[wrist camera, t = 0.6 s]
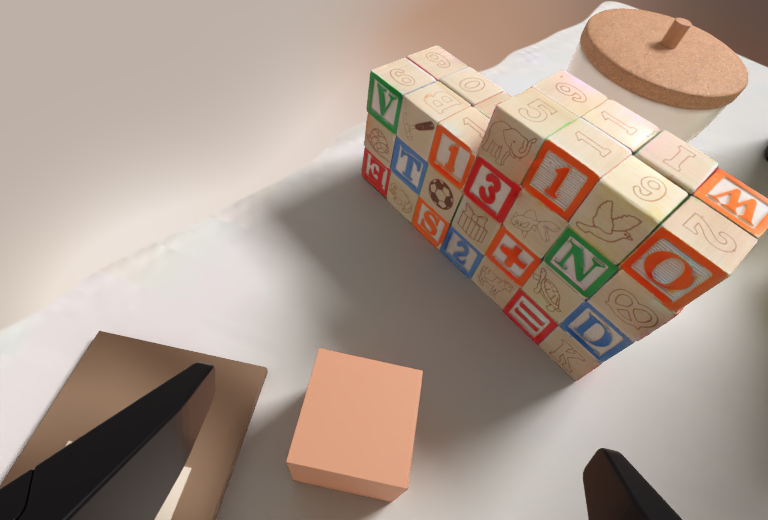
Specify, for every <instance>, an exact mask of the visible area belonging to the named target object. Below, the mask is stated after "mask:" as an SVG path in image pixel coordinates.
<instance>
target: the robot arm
mask: <svg viewBox="0 0 768 520" xmlns="http://www.w3.org/2000/svg"><path fill="white" fill-rule="evenodd" d="M215 391H216V369H215V366H214V365H212V364H207V363H202V362H196V363H194V364H192V365H190V366H189V367H187V368H186V369H184V370H183V371H181V372H180V373H178V374H177V375H175V376H173V377H172V378H170V379H169V380H167V381H166V382H164V383H163V384H161V385H160V386H158V387H156V388H155V389H153V390H152V391H150V392H149V393H147V394H146V395H144V396H143V397H141V398H139V399H138V400H136V401H135V402H133V403H132V404H130V405H129V406H127V407H126V408H124V409H122V410H121V411H119V412H118V413H116V414H115V415H113V416H112V417H110V418H109V419H107V420H106V421H104V422H102V423H101V424H99V425H98V426H96V427H95V428H93V429H92V430H90V431H89V432H87V433H85V434H84V435H82V436H81V437H79V438H78V439H76V440H75V441H73V442H72V443H70V444H68V445H67V446H65V447H64V448H62V449H61V450H59V451H58V452H56V453H55V454H53V455H51V456H50V457H48V458H47V459H45V460H44V461H42V462H41V463H39V464H38V465H36V466H35V468H34V470H33V469H30V470H28V471H27V472H25V473H23V474H22V475H20V476H19V477H17V478H16V479H14V480H13V481H11V482H10V483H8V484H6V485H5V486H3V487H2V488H0V520H155V518H156V516H157V514H158V513H159V511H160V509H161V507H162V505H163V504H164V502H165V500H166V498H167V497H168V495H169V493H170V491H171V489H172V488H173V486H174V484H175V482H176V481H177V479H178V477H179V475H180V473H181V471H182V470H183V468H184V466H185V464H186V462H187V459H188V457H189V455H190V453H191V451H192V448H193V446H194V444H195V441H196V439H197V437H198V434H199V432H200V430H201V427H202V425H203V423H204V420H205V418H206V416H207V413H208V411H209V409H210V406H211V404H212V402H213V399H214V396H215ZM583 483H584V490H585V497H586V504H587V511H588V518H589V520H682V519H681V518H680V517H679V515H678V514H677V513H676V512H675V511H674V510H673V509H672V508H671V507H670V506H669V505H668V504H667V503H666V501H665V500H664V499H663V498H662V497H661V496H660V495H659V494H658V493H657V492H656V491H655V490H654V488H653V487H652V486H651V485H650V484H649V483H648V482H647V481H646V480H645V479H644V478H643V477H642V476H641V474H640V473H639V472H638V471H637V470H636V469H635V468H634V467H633V466H632V465H631V464H630V463H629V462H628V460H627V459H626V458H625V457H624V456H623V455H622V454H621V453H619V452H617V451H614V450H610V449H605V448H601V449H599V450H597V452H596V453H595V454H594V456H593V457H592V459H591V460H590V461H589V463H588V464H587V466H586V467H585V469H584V472H583Z"/></svg>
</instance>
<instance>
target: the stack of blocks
mask: <svg viewBox="0 0 768 520" xmlns="http://www.w3.org/2000/svg"><path fill="white" fill-rule="evenodd" d="M367 112H368V117H367V123H366V133H365V141H364V146H365V149H364V157H363V165H362V176H363V177H364V178H365V179H366V180H367V181H368V182H369V183H370V184H372V185H373V186H374V187H375V188H376V189H377V190H378V191H379V192H380V193H381V194H382V195H383V196H384V197H386V198H387V201H388V202H389V203H390V204H391V205H392V206H393V207H394V208H395V209H396V210H397V211H398V212H399V213H401V214H402V215H403V216H404V217H405V218H406V219H407V220H408V221H409V222H411V223H412V224H413V226H414V227H415V228H416V229H417V230H418V231H419V232H420V233H421V234H422V235H423V236H424V237H425V238H426V239H427V240H428V241H429V242H431V243H432V244H433V245H434V246H435V247H436V248H437V249H438V250H441V252H442V253H443V254H444V255H445V256H446V257H447V258H448V259H450V260H451V261H452V262H453V263H454V264H455V265H456V266H457V267H458V268H459V269H460V270H461V271H462V272H463V273H464V274H465V275H466V276H467V277H468V278H470V279H471V280H472V281H473V282H474V283H475V284H476V285H477V286H478V287H479V288H480V289H481V290H482V291H483V292H485V293H486V295H488V296H489V297H490V298H491V299H492V300H493V301H494V302H495V303H496V304H497V305H498V306H499V307H500V308H501V309H502V310H503V312H504V313H505V314H506V315H507V316H508V317H509V318H510V319H511V320H512V321H513V322H515V323H516V324H517V325H518V326H519V327H520V328H521V329H522V330H523V331H524V332H525V333H526V334H527V335H528V336H529V337H530V338H531V339H532V340H533V341H534V342H535V343H536V344H538V345H539V347H540V348H541V349H542V350H543V351H544V352H545V353H546V354H547V355H548V356H549V357H550V358H551V359H553V360H554V361H555V362H556V363H557V364H558V365H559V366H560V367H561V368H562V369H563V370H564V371H565V372H566V373H567V374H568V375H569V376H570V377H571V378H572V379H574V380H575V381H577V380H579V379H580V378H582V377H583V376H584V375H586V374H587V373H589V372H590V371H592V370H593V369H595V368H596V367H598V366H599V365H600V364H602V363H603V362H604V361H606V360H608V359H609V358H611V357H612V356H614V355H616V354H617V353H619V352H620V351H622V350H623V349H625V348H626V347H628V346H630V345H631V344H633V343H634V342H635V341H639V340H641V339H642V338H644V337H645V336H647V335H649V334H650V333H652V332H653V331H654V330H656V329H658V328H659V327H661V326H662V325H664V324H666V323H667V322H668V321H670V320H671V319H673V318H674V317H676V316H677V315H678V314H679V313H680V312H681V310H682V309H683V308H684V306H686V305H687V304H689V303H690V302H691V301H693V300H694V299H696V298H697V297H699V296H700V295H702V294H703V293H705V292H706V291H708V290H709V289H711V288H713V287H714V286H716V285H717V284H719V283H720V282H722V281H723V280H725V279H726V278H728V277H729V276H730V275H731V274H732V273H733V271H734V270H735V269H736V267H737V266H738V265H739V264H740V263H741V261H742V260H743V259H744V258H745V256H746V255H747V254H748V253H749V251H750V250H751V249H752V248H753V247H754V245H755V244H756V243H757V241H758V240H757V239H758V238H759V237H760V236H761V235H762V234H763V233H764V232H765V231H766V229H767V228H768V198H766V197H764V196H763V195H761V194H760V193H758V192H756V191H755V190H753V189H752V188H750V187H748V186H747V185H745V184H744V183H743V182H741V181H740V180H738V179H736V178H734V177H733V176H731V175H730V174H728V173H727V172H725V171H724V170H722V169H718V163H717V162H716V161H714V160H713V159H711V158H710V157H708V156H707V155H705V154H703V153H702V152H700V151H699V150H697V149H696V148H694V147H692V146H691V145H689V144H687V143H686V142H684V141H683V140H681V139H679V138H678V137H676V136H675V135H673V134H671V133H670V132H668V131H665V130H664V131H660V130H659V128H658V127H657V126H656V125H654V124H652V123H651V122H649V121H647V120H646V119H644V118H642V117H641V116H639V115H638V114H636V113H634V112H633V111H631V110H629V109H627V108H626V107H624V106H622V105H621V104H619V103H618V102H616V101H614V100H608V98H607V96H605V95H604V94H602V93H600V92H599V91H597V90H596V89H594V88H592V87H591V86H589V85H587V84H586V83H584V82H583V81H581V80H579V79H578V78H576V77H574V76H573V75H571V74H570V73H568V72H566V71H565V70H561V71H559V72H558V73H556V74H554V75H552V76H550V77H548V78H546V79H544V80H542V81H540V82H539V83H537V84H535V85H533V86H532V87H531V88H530V89H527V90H526V91H524V92H523V93H521V94H518V95H516V96H514V97H512V96H510V95H508V94H507V93H505V92H504V91H503V90H502V89H501V88H500V87H498V86H497V85H495V84H494V83H492V82H491V81H489V80H488V79H486V78H485V77H484V76H482V75H481V74H479V73H478V72H477V71H475V70H474V69H472V68H470V67H468V66H466V65H465V64H464V63H462V62H461V61H460V60H458V59H456V58H455V57H454V56H453V55H451V54H450V53H449V52H447V51H445V50H444V49H442V48H441V47H440V46H434V47H431V48H428V49H425V50H423V51H420V52H417V53H414V54H411V55H408V56H407V57H406V58H403V59H400V60H397V61H394V62H392V63H389V64H387V65H384V66H381V67H379V68H376V69H373V70H371V73H370V82H369V90H368V101H367Z"/></svg>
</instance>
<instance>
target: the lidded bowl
mask: <svg viewBox="0 0 768 520" xmlns="http://www.w3.org/2000/svg"><path fill="white" fill-rule="evenodd" d="M567 72H568V73H570V74H571V75H573V76H574V77H576V78H578V79H579V80H581V81H583V82H584V83H586V84H587V85H589V86H591V87H592V88H594V89H596V90H597V91H599V92H600V93H602V94H604V95H605V96H607V98H608V100H614V101H616V102H618V103H619V104H621V105H622V106H624V107H626V108H627V109H629V110H631V111H633V112H634V113H636V114H638V115H639V116H641V117H642V118H644V119H646V120H647V121H649V122H651V123H652V124H654V125H656V126H657V127H658V128H659V130H660V131H664V130H665V131H668V132H670V133H671V134H673V135H675V136H676V137H678V138H679V139H681V140H683V141H684V142H686V143H688V142H689V141H691V140H692V139H693V138H695V137H696V136H697V135H698V134H699V133H700V132H702V131H703V130H704V129H705V128H706V127H707V126H708V125H709V124H710V123H711V122H712V121H713V120H714V119H715V118H716V117H717V116H718V115H719V114H720V112H721V111H722V110H723V109H724V108H725V107H726V106H727V105H728V104H730V103H731V102H733V101H734V100H735V99H736V98H737V96H738V95H739V94H740V93H741V92H742V91H743V90H744V89H745V87H746V86H747V83H748V72H747V69H746V67H745V65H744V64H743V62H742V60H741V59H740V58H739V57H738V56H737V55H736V54H735V53H734V52H733V51H732V50H731V49H730V48H729V47H728V46H726V45H725V44H724V43H722V42H721V41H719V40H718V39H716V38H715V37H713V36H712V35H710V34H709V33H707V32H705V31H703V30H701V29H699V28H697V27H695V26H693V25H692V24H691V22H689V21H688V20H686V19H683V18H676V19H675V18H672V17H669V16H666V15H662V14H658V13H654V12H649V11H644V10H636V9H611V10H605V11H602V12H600V13H598V14H596V15H594V16H593V17H591V18H590V19H589V20H588V22H587V24H586V26H585V28H584V30H583V32H582V34H581V38H580V42H579V44H578V46H577V48H576V50H575V52H574V54H573V57H572V59H571V61H570V63H569V66H568V69H567Z"/></svg>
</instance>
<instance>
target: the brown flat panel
mask: <svg viewBox="0 0 768 520" xmlns="http://www.w3.org/2000/svg"><path fill="white" fill-rule="evenodd" d="M196 362H202V363H207V364H212V365H214V366H215V369H216V391H215V396H214V399H213V402H212V404H211V406H210V409H209V411H208V413H207V416H206V418H205V420H204V423H203V425H202V427H201V430H200V432H199V434H198V437H197V439H196V441H195V444H194V446H193V448H192V451H191V453H190V455H189V457H188V459H187V462H186V464H185V466H184V468H183V470H182V471H181V473H180V475H179V477H178V479H177V481H176V482H175V484H174V486H173V488H172V489H171V491H170V493H169V495H168V497H167V498H166V500H165V502H164V504H163V505H162V507H161V509H160V511H159V513H158V514H157V516H156V518H155V520H215V518H216V516H217V513H218V510H219V507H220V504H221V501H222V499H223V496H224V493H225V490H226V487H227V485H228V482H229V479H230V476H231V473H232V471H233V468H234V465H235V462H236V459H237V456H238V454H239V451H240V448H241V445H242V442H243V440H244V437H245V434H246V431H247V428H248V426H249V423H250V420H251V417H252V414H253V412H254V409H255V406H256V403H257V400H258V397H259V395H260V392H261V389H262V386H263V383H264V381H265V378H266V375H267V372H268V371H267V368H266V367H261V366H257V365H252V364H248V363H243V362H239V361H234V360H229V359H225V358H220V357H216V356H211V355H207V354H202V353H198V352H193V351H188V350H184V349H179V348H175V347H170V346H166V345H161V344H157V343H152V342H148V341H143V340H138V339H134V338H129V337H125V336H120V335H116V334H111V333H107V332H102V331H99V332H98V334H97V335H96V337H95V338H94V340H93V342H92V343H91V345H90V346H89V348H88V349H87V351H86V352H85V354H84V356H83V357H82V359H81V360H80V362H79V363H78V365H77V367H76V368H75V370H74V371H73V373H72V374H71V376H70V378H69V379H68V381H67V382H66V384H65V385H64V387H63V389H62V390H61V392H60V393H59V395H58V396H57V398H56V399H55V401H54V403H53V404H52V406H51V407H50V409H49V410H48V412H47V414H46V415H45V417H44V418H43V420H42V421H41V423H40V425H39V426H38V428H37V429H36V431H35V432H34V434H33V435H32V437H31V439H30V440H29V442H28V443H27V445H26V446H25V448H24V450H23V451H22V453H21V454H20V456H19V457H18V459H17V461H16V462H15V464H14V465H13V467H12V468H11V470H10V471H9V473H8V475H7V476H6V478H5V479H4V481H3V482H2V484H1V486H0V488H2V487H3V486H5V485H6V484H8V483H10V482H11V481H13V480H14V479H16V478H17V477H19V476H20V475H22V474H23V473H25V472H27V471H28V470H30V469H33V470H34V468H35V466H36V465H38V464H39V463H41V462H42V461H44V460H45V459H47V458H48V457H50V456H51V455H53V454H55V453H56V452H58V451H59V450H61V449H62V448H64V447H65V446H67V445H68V444H70V443H72V442H73V441H75V440H76V439H78V438H79V437H81V436H82V435H84V434H85V433H87V432H89V431H90V430H92V429H93V428H95V427H96V426H98V425H99V424H101V423H102V422H104V421H106V420H107V419H109V418H110V417H112V416H113V415H115V414H116V413H118V412H119V411H121V410H122V409H124V408H126V407H127V406H129V405H130V404H132V403H133V402H135V401H136V400H138V399H139V398H141V397H143V396H144V395H146V394H147V393H149V392H150V391H152V390H153V389H155V388H156V387H158V386H160V385H161V384H163V383H164V382H166V381H167V380H169V379H170V378H172V377H173V376H175V375H177V374H178V373H180V372H181V371H183V370H184V369H186V368H187V367H189V366H190V365H192V364H194V363H196Z"/></svg>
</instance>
